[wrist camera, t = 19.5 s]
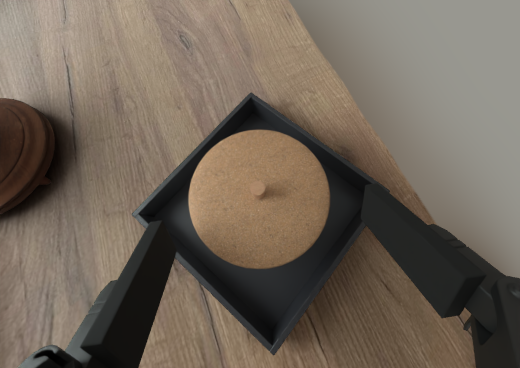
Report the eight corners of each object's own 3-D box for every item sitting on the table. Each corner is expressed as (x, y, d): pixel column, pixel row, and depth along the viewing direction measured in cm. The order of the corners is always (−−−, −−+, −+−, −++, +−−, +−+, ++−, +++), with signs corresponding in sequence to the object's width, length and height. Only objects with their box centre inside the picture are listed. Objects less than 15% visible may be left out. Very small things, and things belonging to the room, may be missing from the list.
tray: (372, 197, 23) (390, 190, 20) (272, 336, 20) (273, 356, 17) (252, 110, 26) (250, 91, 23) (150, 217, 23) (131, 214, 20)
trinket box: (203, 177, 24) (164, 141, 15) (290, 151, 24) (304, 100, 15) (227, 271, 21) (198, 298, 12) (324, 239, 22) (366, 242, 13)
